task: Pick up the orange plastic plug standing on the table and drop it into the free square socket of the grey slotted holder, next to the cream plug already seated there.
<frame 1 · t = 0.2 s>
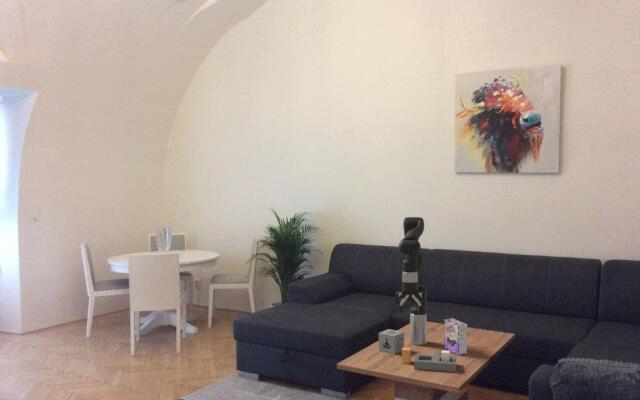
hand: (410, 312, 287), 28 cm above the table, tool pointing down, fingers open, 8 cm apart
candy box: (455, 351, 314), on the table
orange plug: (406, 362, 297), on the table
grey slotted holder: (435, 366, 290), on the table
icon cube: (391, 350, 318), on the table
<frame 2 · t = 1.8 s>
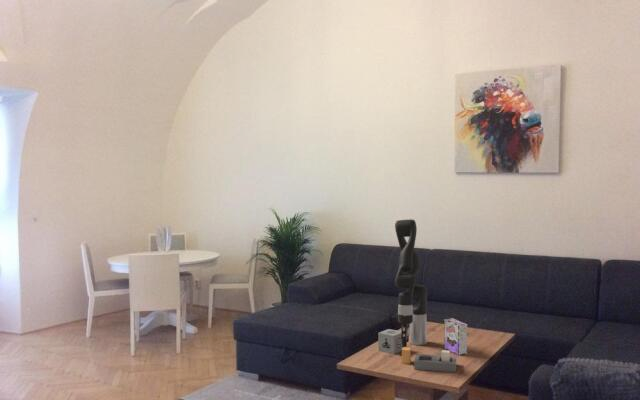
hand: (405, 344, 297), 9 cm above the table, tool pointing down, fingers open, 8 cm apart
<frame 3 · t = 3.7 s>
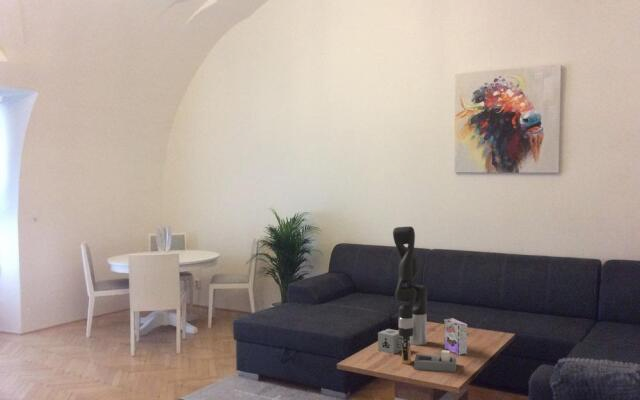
hand: (406, 358, 297), 2 cm above the table, tool pointing down, fingers closed on orange plug, 4 cm apart
orange plug: (406, 362, 297), on the table, touching gripper
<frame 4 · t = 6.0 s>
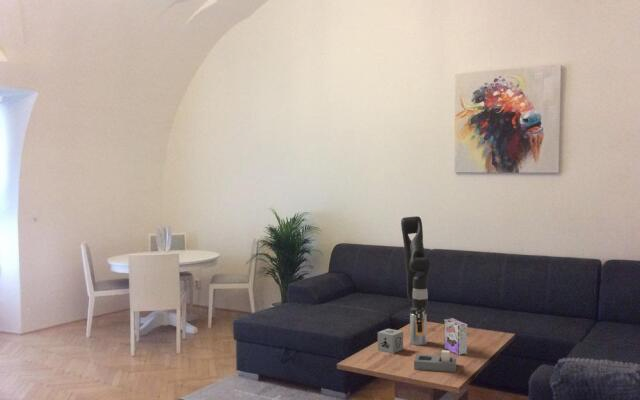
hand: (420, 330, 291), 18 cm above the table, tool pointing down, fingers closed on orange plug, 4 cm apart
orange plug: (420, 334, 291), point 16 cm above the table, touching gripper
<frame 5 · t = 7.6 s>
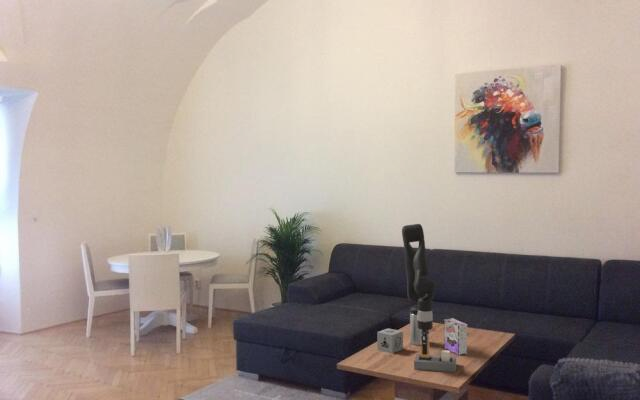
hand: (425, 352, 291), 7 cm above the table, tool pointing down, fingers closed on orange plug, 4 cm apart
orange plug: (425, 356, 291), point 5 cm above the table, touching gripper
when the fingers open (5 cm above the table, at t = 8.7 s): orange plug drops 2 cm, resting on grey slotted holder.
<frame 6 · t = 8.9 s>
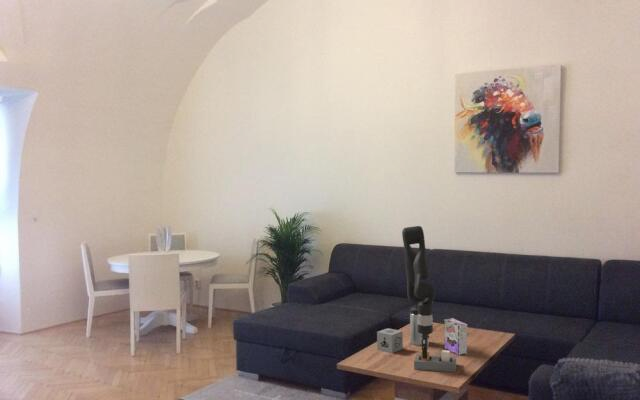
hand: (425, 356, 291), 5 cm above the table, tool pointing down, fingers open, 5 cm apart
orange plug: (425, 364, 291), point 1 cm above the table, touching grey slotted holder
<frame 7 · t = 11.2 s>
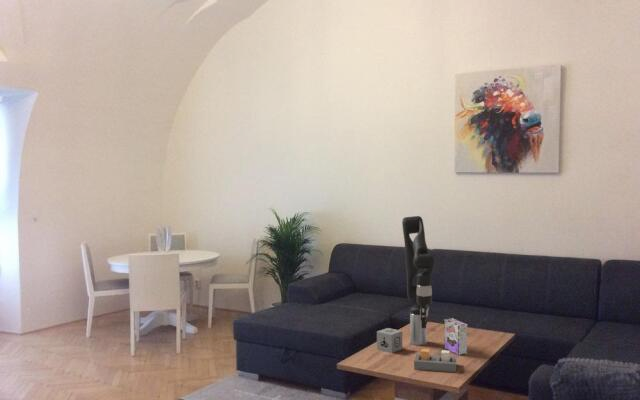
hand: (424, 325, 291), 20 cm above the table, tool pointing down, fingers open, 8 cm apart
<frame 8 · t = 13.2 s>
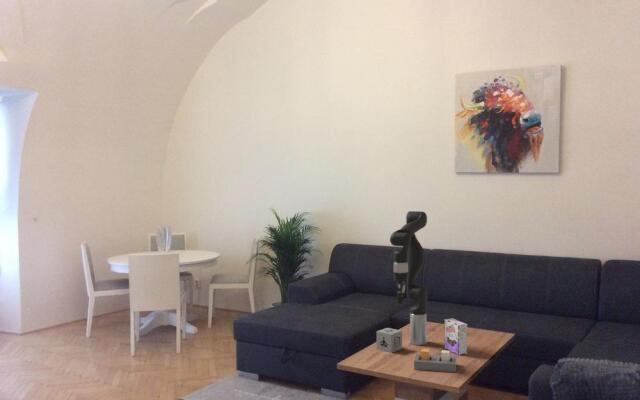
hand: (401, 301, 302), 30 cm above the table, tool pointing down, fingers open, 8 cm apart
at the end: orange plug 0.1 cm from the target spot on the grey slotted holder, point 1.0 cm above the grey slotted holder's base; orange plug tilted 0°; the gripper is holding nothing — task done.
